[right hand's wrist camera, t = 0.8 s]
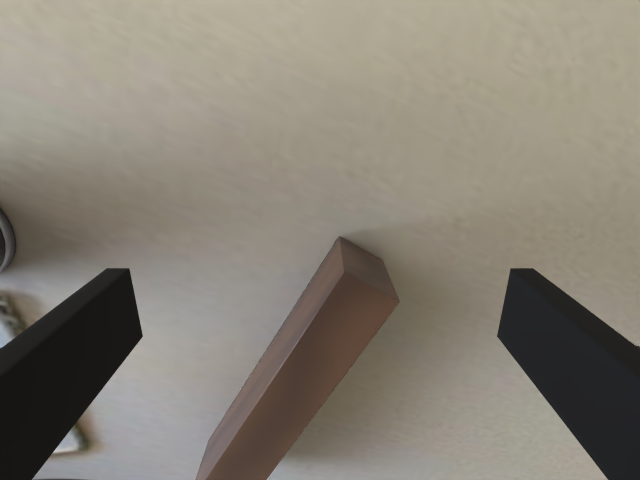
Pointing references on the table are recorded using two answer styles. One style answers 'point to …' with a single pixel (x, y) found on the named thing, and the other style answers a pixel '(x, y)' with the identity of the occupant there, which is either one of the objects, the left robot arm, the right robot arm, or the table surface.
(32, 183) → the table surface
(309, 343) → the beam
